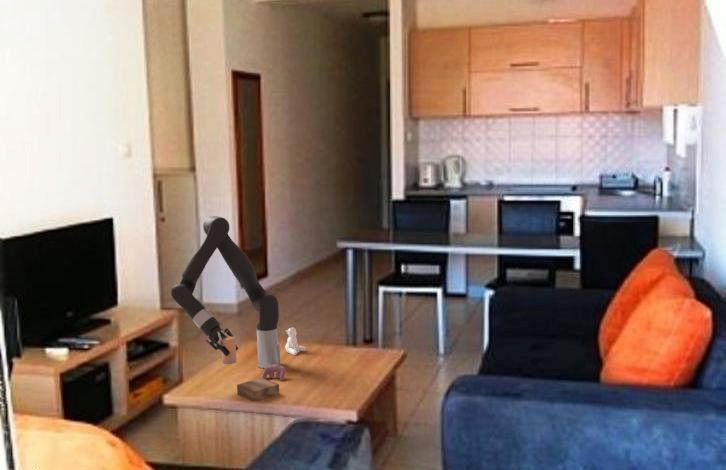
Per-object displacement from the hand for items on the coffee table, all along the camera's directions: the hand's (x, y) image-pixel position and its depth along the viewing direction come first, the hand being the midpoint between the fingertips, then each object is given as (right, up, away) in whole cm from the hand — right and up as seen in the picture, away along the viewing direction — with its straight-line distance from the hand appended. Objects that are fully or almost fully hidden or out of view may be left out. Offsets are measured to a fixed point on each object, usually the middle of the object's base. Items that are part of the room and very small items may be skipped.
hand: (232, 352), depth 308 cm
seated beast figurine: (+20, -8, +52) cm, 56 cm away
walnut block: (+11, -16, -6) cm, 20 cm away
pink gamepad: (+16, -14, +13) cm, 25 cm away
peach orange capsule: (-1, -4, +1) cm, 5 cm away
